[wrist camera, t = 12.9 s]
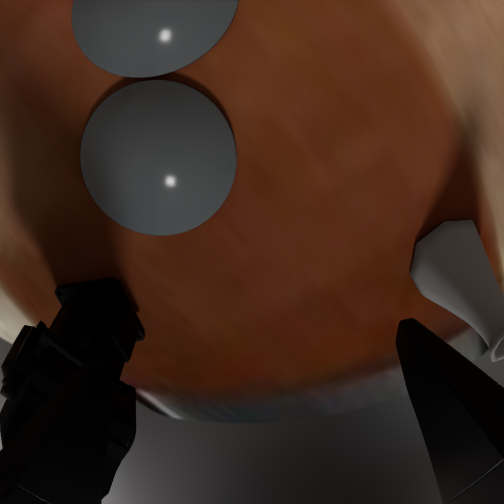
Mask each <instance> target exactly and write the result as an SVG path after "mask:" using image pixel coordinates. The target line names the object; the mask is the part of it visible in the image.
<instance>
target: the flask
mask: <svg viewBox="0 0 504 504" xmlns="http://www.w3.org/2000/svg"><path fill="white" fill-rule="evenodd" d="M410 276H411V278H412V279H413V281H414V283H415V284H416V286H417V287H418V289H419V291H420V292H421V294H422V295H423V296H425V297H426V298H428V299H430V300H432V301H433V302H435V303H437V304H439V305H440V306H442V307H444V308H446V309H447V310H449V311H451V312H452V313H454V314H455V315H457V316H458V317H460V318H461V319H463V320H464V321H466V322H467V323H469V324H470V325H471V326H472V327H473V328H474V329H475V330H476V331H477V332H478V333H479V334H480V335H481V336H482V337H483V339H484V340H485V342H486V343H487V345H488V346H489V347H488V350H489V353H490V357H491V360H492V362H495V361H498V360H501V359H503V358H504V296H503V294H502V292H501V290H500V288H499V286H498V284H497V281H496V278H495V276H494V273H493V270H492V268H491V265H490V262H489V260H488V257H487V255H486V252H485V250H484V247H483V244H482V242H481V239H480V237H479V234H478V232H477V229H476V227H475V225H474V223H473V220H459V221H445V222H443V223H442V224H441V225H440V226H438V227H437V228H436V229H434V230H433V231H432V232H431V233H429V234H428V235H427V236H425V237H424V238H423V239H422V240H420V241H419V242H418V243H416V247H415V252H414V257H413V262H412V267H411V272H410Z"/></svg>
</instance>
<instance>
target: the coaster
mask: <svg viewBox="0 0 504 504" xmlns="http://www.w3.org/2000/svg"><path fill="white" fill-rule="evenodd" d="M80 163H81V170H82V175H83V178H84V182H85V184H86V186H87V189H88V191H89V193H90V195H91V196H92V198H93V200H94V201H95V202H96V204H97V205H98V206H99V207H100V208H101V210H102V211H103V212H104V213H105V214H106V215H108V216H109V217H110V218H111V219H112V220H114V221H115V222H117V223H118V224H120V225H122V226H124V227H126V228H128V229H130V230H133V231H136V232H139V233H143V234H148V235H173V234H178V233H182V232H185V231H188V230H190V229H193V228H195V227H197V226H199V225H200V224H202V223H203V222H205V221H206V220H208V219H209V218H210V217H211V216H212V215H213V214H214V213H215V212H216V211H217V210H218V209H219V208H220V207H221V205H222V204H223V202H224V201H225V199H226V198H227V196H228V194H229V192H230V189H231V187H232V184H233V180H234V177H235V171H236V145H235V140H234V137H233V133H232V130H231V128H230V126H229V124H228V121H227V120H226V118H225V117H224V115H223V113H222V112H221V111H220V109H219V108H218V107H217V106H216V105H215V104H214V103H213V102H212V101H211V100H210V99H209V98H208V97H207V96H205V95H204V94H202V93H201V92H199V91H198V90H196V89H194V88H192V87H190V86H188V85H185V84H182V83H179V82H175V81H169V80H148V81H141V82H137V83H133V84H130V85H128V86H126V87H123V88H121V89H119V90H118V91H116V92H114V93H113V94H112V95H110V96H109V97H108V98H106V99H105V100H104V101H103V102H102V103H101V104H100V105H99V106H98V108H97V109H96V110H95V112H94V113H93V114H92V116H91V118H90V120H89V121H88V123H87V126H86V128H85V131H84V134H83V138H82V142H81V150H80Z"/></svg>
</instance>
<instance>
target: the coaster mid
mask: <svg viewBox="0 0 504 504" xmlns="http://www.w3.org/2000/svg"><path fill="white" fill-rule="evenodd" d="M237 6H238V0H74V2H73V8H72V27H73V32H74V36H75V39H76V41H77V43H78V45H79V47H80V49H81V50H82V52H83V53H84V54H85V55H86V57H87V58H88V59H89V60H90V61H92V62H93V63H94V64H95V65H97V66H98V67H100V68H102V69H103V70H105V71H108V72H110V73H112V74H116V75H120V76H125V77H152V76H159V75H163V74H168V73H170V72H173V71H176V70H179V69H181V68H183V67H185V66H188V65H189V64H191V63H193V62H194V61H196V60H198V59H199V58H201V57H202V56H203V55H205V54H206V53H207V52H208V51H209V50H210V49H211V48H213V47H214V46H215V45H216V44H217V42H218V41H219V40H220V39H221V38H222V37H223V35H224V34H225V32H226V31H227V29H228V28H229V26H230V24H231V22H232V20H233V18H234V15H235V12H236V10H237Z"/></svg>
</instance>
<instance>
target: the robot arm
mask: <svg viewBox="0 0 504 504" xmlns="http://www.w3.org/2000/svg"><path fill="white" fill-rule="evenodd" d="M111 284H113V285H114V286H113V285H111ZM60 292H61V293H60ZM55 295H56V296H57V298H58V300H59V302H60V303H61V305H62V307H61V309H60V311H59V312H58V314H57V316H56V317H55V319H54V321H53V323H52V324H51V326H50V328H47V327H46V324H44V323H43V322H42V321H41V320H40V322H39V323H38V324H37V325H36V327H34V326H27V325H24V327H23V328H22V330H21V331H20V333H19V335H18V336H17V338H16V340H15V341H14V343H13V345H12V347H11V348H10V350H9V352H8V354H7V356H6V358H5V360H4V362H3V364H2V366H1V368H2V372H3V376H4V378H3V381H2V383H3V386H2V388H1V391H0V394H1V395H3V396H4V397H5V398H7V399H6V401H5V403H4V406H3V407H2V410H1V412H0V432H1V440H2V447H3V449H2V450H1V451H0V504H101V501H102V499H103V498H104V497H105V496H106V495H107V494H108V493H109V491H110V488H111V485H112V482H113V479H114V476H115V473H116V471H117V469H118V467H119V465H120V463H121V461H122V460H123V458H124V457H125V455H126V454H127V453H128V451H129V450H130V448H131V445H132V444H133V441H134V438H135V434H136V389H135V388H134V387H132V386H131V385H127V384H125V383H124V382H122V381H121V380H119V379H120V376H121V373H122V369H123V366H124V363H125V362H129V360H130V358H131V354H132V351H133V348H134V345H135V342H136V341H142V340H144V337H145V333H144V331H143V329H142V327H141V324H140V322H139V320H138V318H137V316H136V314H135V312H134V310H133V308H132V306H131V304H130V303H129V302H128V300H127V298H126V296H125V294H124V292H123V290H122V288H121V286H120V284H119V282H118V280H116V279H114V278H108V279H102V280H96V281H89V282H83V283H76V284H70V285H63V286H58V287H57V288H56V290H55ZM139 335H140V336H139ZM396 348H397V352H398V355H399V359H400V363H401V367H402V371H403V375H404V379H405V383H406V387H407V391H408V394H409V397H410V400H411V402H412V405H413V408H414V411H415V414H416V417H417V420H418V423H419V426H420V429H421V432H422V435H423V438H424V441H425V444H426V447H427V450H428V454H429V457H430V460H431V463H432V467H433V470H434V473H435V477H436V481H437V484H438V488H439V491H440V495H441V499H442V503H443V504H504V388H503V387H502V386H501V385H500V384H499V385H498V383H497V382H496V381H495V380H493V379H492V378H491V377H490V376H488V375H487V374H486V373H485V372H483V371H482V370H481V369H480V368H478V367H477V366H476V365H474V364H473V363H472V362H471V361H469V360H468V359H467V358H466V357H464V356H463V355H462V354H460V353H459V352H458V351H457V350H455V349H454V348H453V347H451V346H450V345H449V344H447V343H446V342H445V341H444V340H442V339H441V338H440V337H438V336H437V335H436V334H434V333H433V332H432V331H430V330H429V329H428V328H426V327H425V326H424V325H422V324H421V323H420V322H418V321H417V320H416V319H414V318H409V319H404V320H401V321H400V322H399V325H398V331H397V336H396Z"/></svg>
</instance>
